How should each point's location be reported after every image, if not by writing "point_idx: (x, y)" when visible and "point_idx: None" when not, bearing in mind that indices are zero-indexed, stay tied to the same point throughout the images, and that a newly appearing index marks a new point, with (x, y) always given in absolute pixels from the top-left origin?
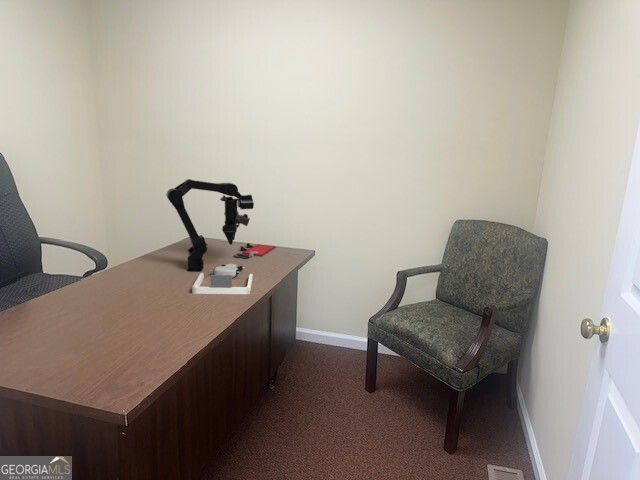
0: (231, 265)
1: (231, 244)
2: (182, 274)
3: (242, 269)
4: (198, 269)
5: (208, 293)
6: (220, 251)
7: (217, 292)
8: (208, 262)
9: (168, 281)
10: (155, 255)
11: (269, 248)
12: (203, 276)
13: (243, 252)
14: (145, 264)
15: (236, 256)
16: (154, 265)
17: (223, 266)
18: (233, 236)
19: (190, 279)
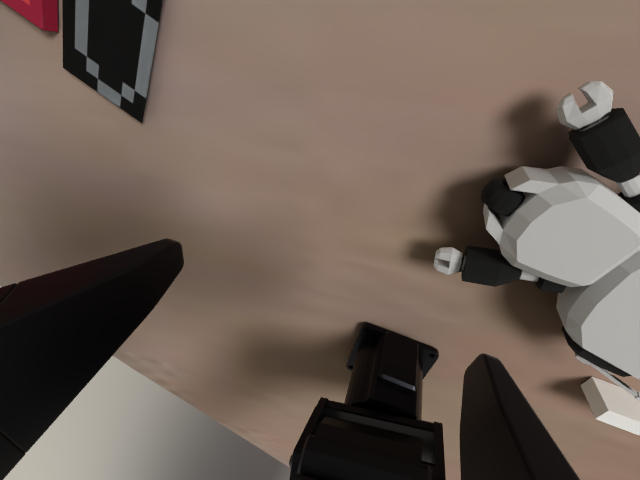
0: (625, 250)
1: (492, 362)
2: (455, 412)
3: (612, 110)
4: (420, 360)
5: None
6: (55, 174)
7: None
8: (267, 276)
9: None
10: (184, 391)
11: None
12: (607, 393)
13: (37, 16)
14: (287, 438)
15: (146, 95)
16: (301, 428)
17: (599, 311)
18: (135, 286)
19: (567, 419)
